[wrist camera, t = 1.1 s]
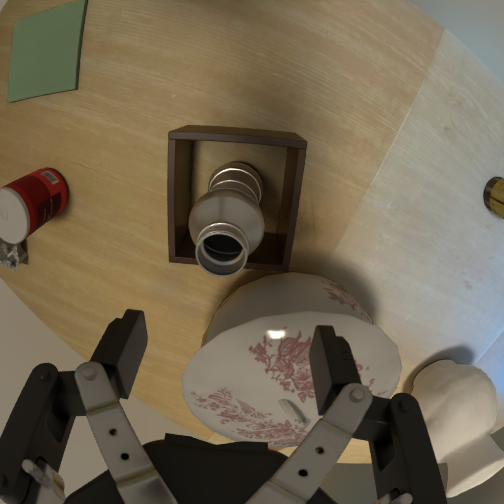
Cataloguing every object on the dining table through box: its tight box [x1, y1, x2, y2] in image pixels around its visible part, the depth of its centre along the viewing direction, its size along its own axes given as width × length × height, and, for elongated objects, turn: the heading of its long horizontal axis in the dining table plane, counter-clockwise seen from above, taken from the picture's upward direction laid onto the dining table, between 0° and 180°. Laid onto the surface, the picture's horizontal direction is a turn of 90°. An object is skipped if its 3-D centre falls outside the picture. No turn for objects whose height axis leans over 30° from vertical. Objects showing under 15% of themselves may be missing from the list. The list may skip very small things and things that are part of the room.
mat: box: [8, 0, 88, 103], centre depth 29 cm, size 14×14×1 cm
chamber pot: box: [182, 272, 402, 447], centre depth 40 cm, size 28×28×21 cm
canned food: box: [0, 168, 68, 244], centre depth 35 cm, size 8×8×11 cm
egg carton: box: [0, 237, 27, 271], centre depth 41 cm, size 11×8×4 cm
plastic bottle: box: [189, 163, 265, 277], centre depth 31 cm, size 6×7×20 cm
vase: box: [411, 360, 504, 497], centre depth 45 cm, size 19×21×30 cm
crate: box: [167, 125, 307, 272], centre depth 36 cm, size 15×14×9 cm
